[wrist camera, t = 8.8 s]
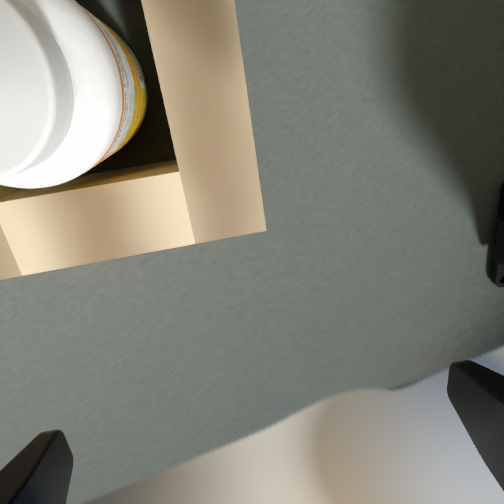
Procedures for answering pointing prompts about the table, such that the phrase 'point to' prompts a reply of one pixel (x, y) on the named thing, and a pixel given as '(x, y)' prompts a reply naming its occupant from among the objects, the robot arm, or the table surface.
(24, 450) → the robot arm
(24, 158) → the supplement bottle
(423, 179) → the table surface
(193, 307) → the table surface
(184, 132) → the socket block
